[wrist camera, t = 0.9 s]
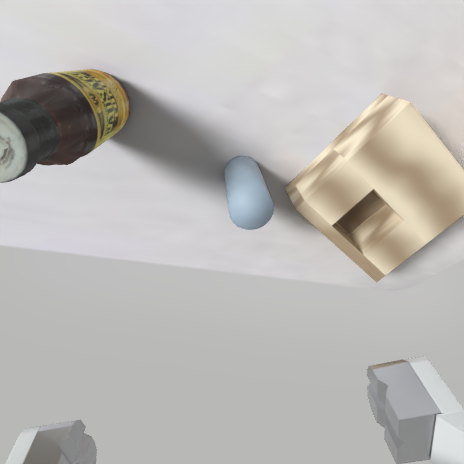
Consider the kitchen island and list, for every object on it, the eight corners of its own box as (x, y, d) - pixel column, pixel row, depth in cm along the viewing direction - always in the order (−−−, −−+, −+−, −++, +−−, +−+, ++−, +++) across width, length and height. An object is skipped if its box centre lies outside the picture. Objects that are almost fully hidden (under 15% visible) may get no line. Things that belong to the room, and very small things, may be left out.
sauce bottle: (144, 117, 37) (84, 184, 19) (92, 143, 38) (-9, 229, 20) (107, 52, 34) (-2, 62, 16) (53, 82, 35) (-106, 122, 17)
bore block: (381, 93, 37) (410, 102, 32) (450, 178, 42) (485, 198, 37) (284, 188, 41) (295, 209, 36) (357, 254, 46) (376, 282, 41)
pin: (241, 148, 39) (250, 179, 30) (266, 171, 40) (282, 207, 31) (217, 174, 40) (219, 211, 31) (242, 196, 41) (251, 237, 33)
